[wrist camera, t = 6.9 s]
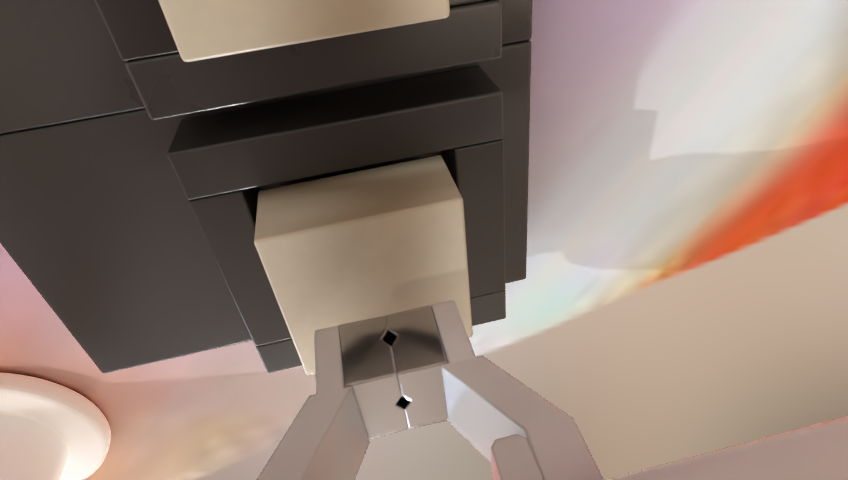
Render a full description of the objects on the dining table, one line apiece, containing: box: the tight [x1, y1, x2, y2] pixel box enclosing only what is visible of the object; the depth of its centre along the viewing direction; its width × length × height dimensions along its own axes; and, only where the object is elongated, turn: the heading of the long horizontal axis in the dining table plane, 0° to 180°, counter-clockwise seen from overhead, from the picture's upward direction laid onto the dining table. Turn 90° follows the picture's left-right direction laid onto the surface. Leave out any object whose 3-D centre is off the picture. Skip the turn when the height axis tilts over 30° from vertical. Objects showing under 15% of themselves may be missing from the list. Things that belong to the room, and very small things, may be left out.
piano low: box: [0, 40, 531, 373], centre depth 15 cm, size 14×8×4 cm, turn 96°
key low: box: [254, 155, 473, 375], centre depth 13 cm, size 4×4×2 cm
